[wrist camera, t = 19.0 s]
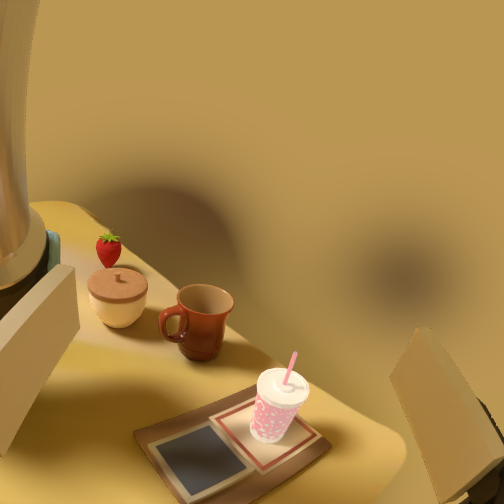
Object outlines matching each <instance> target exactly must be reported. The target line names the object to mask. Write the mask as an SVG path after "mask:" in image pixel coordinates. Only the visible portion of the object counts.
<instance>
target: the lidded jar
mask: <svg viewBox="0 0 504 504" xmlns="http://www.w3.org/2000/svg"><path fill="white" fill-rule="evenodd" d="M88 290H89V299H90V303H91V306H92V309H93V311H94V313H95V315H96V316H97V317H98V318H99V319H100V320H101V321H103V322H104V323H105V324H106V325H107V326H109V327H112V328H125V327H128V326H130V325H131V324H132V323H133V322H134V321H136V320H137V319H138V318H139V317H140V316H141V314H142V312H143V310H144V307H145V304H146V298H147V290H148V282H147V280H146V278H145V277H144V276H143V275H142V274H140V273H138V272H136V271H134V270H131V269H126V268H107V269H102V270H100V271H97V272H95V273H94V274H92V275H91V276H90V278H89V279H88Z"/></svg>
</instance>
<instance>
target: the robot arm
mask: <svg viewBox="0 0 504 504" xmlns="http://www.w3.org/2000/svg"><path fill="white" fill-rule="evenodd" d="M39 4H40V0H0V457H2V458H4V456H5V454H6V452H7V450H8V449H9V447H10V445H11V443H12V441H13V439H14V437H15V435H16V433H17V431H18V429H19V428H20V426H21V424H22V422H23V420H24V418H25V417H26V415H27V413H28V411H29V410H30V408H31V406H32V404H33V403H34V401H35V399H36V397H37V396H38V394H39V392H40V391H41V389H42V387H43V386H44V384H45V382H46V381H47V379H48V377H49V376H50V374H51V372H52V371H53V369H54V368H55V366H56V364H57V363H58V361H59V360H60V358H61V356H62V355H63V353H64V352H65V350H66V349H67V347H68V346H69V344H70V343H71V341H72V340H73V338H74V336H75V335H76V333H77V332H78V330H79V329H80V323H79V314H78V304H77V293H76V279H75V268H73V267H69V266H65V265H61V264H60V237H59V235H58V234H57V233H55V232H51V231H50V230H45V226H44V222H43V220H42V218H41V217H40V215H39V214H38V213H37V212H36V211H35V210H34V209H33V208H31V207H30V206H29V202H28V191H27V178H26V156H25V155H26V154H25V118H26V96H27V81H28V72H29V62H30V54H31V47H32V40H33V34H34V28H35V23H36V18H37V13H38V8H39ZM389 377H390V380H391V382H392V384H393V387H394V389H395V391H396V394H397V396H398V398H399V401H400V403H401V405H402V408H403V410H404V412H405V415H406V417H407V420H408V422H409V425H410V427H411V429H412V432H413V434H414V437H415V439H416V442H417V445H418V447H419V450H420V452H421V455H422V457H423V460H424V462H425V465H426V468H427V471H428V473H429V476H430V479H431V482H432V484H433V487H434V490H435V493H436V496H437V499H438V502H439V504H445V503H448V502H451V501H454V500H456V499H458V498H459V497H460V496H462V495H463V494H464V493H465V492H467V493H468V495H469V497H467V498H466V499H465V500H464V501H462V502H461V503H459V504H504V437H503V435H502V434H501V432H500V430H499V428H498V426H496V423H495V421H494V419H493V418H491V414H490V413H489V411H488V409H487V408H486V406H485V405H484V404H483V403H482V402H481V401H480V400H479V399H478V398H477V397H476V396H475V394H474V393H473V391H472V389H471V388H470V386H469V385H468V383H467V381H466V380H465V378H464V377H463V375H462V374H461V372H460V371H459V369H458V367H457V366H456V364H455V363H454V362H453V360H452V358H451V357H450V355H449V354H448V352H447V351H446V349H445V348H444V346H443V345H442V343H441V342H440V341H439V339H438V338H437V336H436V335H435V333H434V332H433V331H432V329H431V328H421V327H417V328H416V330H415V332H414V334H413V336H412V338H411V340H410V341H409V343H408V345H407V347H406V349H405V351H404V352H403V354H402V356H401V358H400V359H399V361H398V363H397V365H396V366H395V368H394V370H393V371H392V373H391V375H390V376H389Z"/></svg>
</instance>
